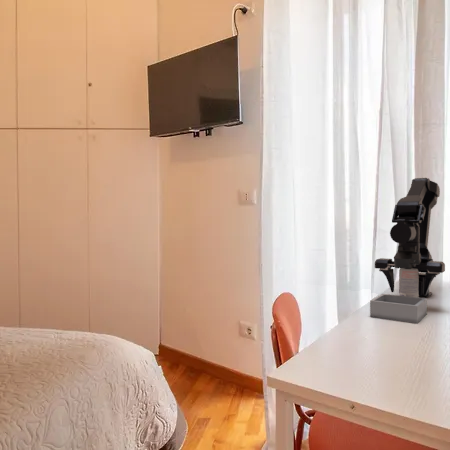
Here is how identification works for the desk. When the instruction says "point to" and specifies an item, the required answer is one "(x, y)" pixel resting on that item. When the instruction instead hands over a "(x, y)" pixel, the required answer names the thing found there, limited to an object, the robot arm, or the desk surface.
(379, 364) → the desk surface
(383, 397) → the desk surface
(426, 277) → the robot arm
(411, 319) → the crate
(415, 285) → the energy drink
